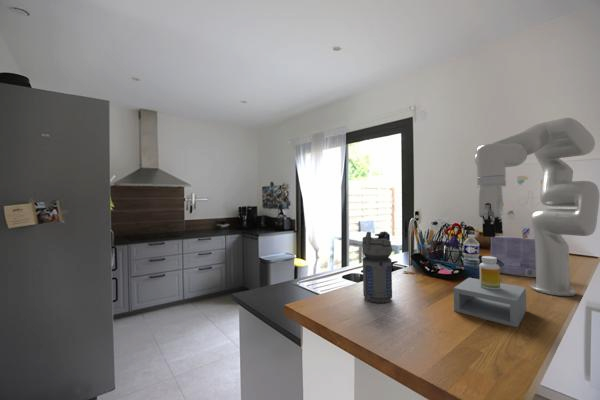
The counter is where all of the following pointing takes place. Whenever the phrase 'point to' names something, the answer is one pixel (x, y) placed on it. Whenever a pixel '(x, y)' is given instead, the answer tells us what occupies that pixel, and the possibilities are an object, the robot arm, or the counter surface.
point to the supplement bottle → (489, 273)
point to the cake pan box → (514, 255)
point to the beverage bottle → (377, 268)
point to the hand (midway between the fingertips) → (492, 234)
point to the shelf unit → (491, 302)
